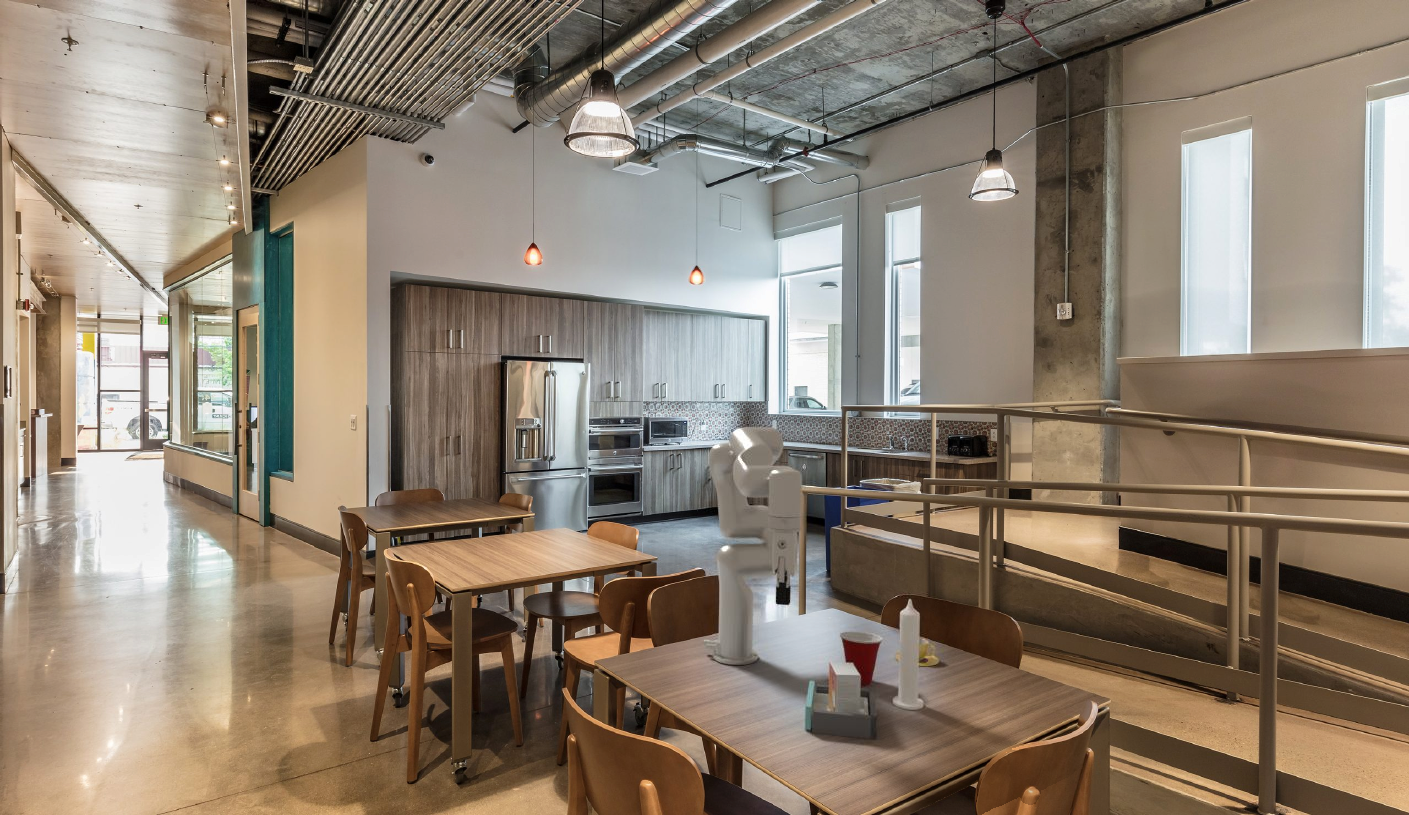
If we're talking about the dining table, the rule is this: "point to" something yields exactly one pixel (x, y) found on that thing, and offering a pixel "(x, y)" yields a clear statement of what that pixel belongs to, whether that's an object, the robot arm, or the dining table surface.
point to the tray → (823, 704)
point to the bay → (846, 718)
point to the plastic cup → (861, 652)
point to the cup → (925, 653)
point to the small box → (844, 688)
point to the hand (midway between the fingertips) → (782, 603)
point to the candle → (909, 660)
